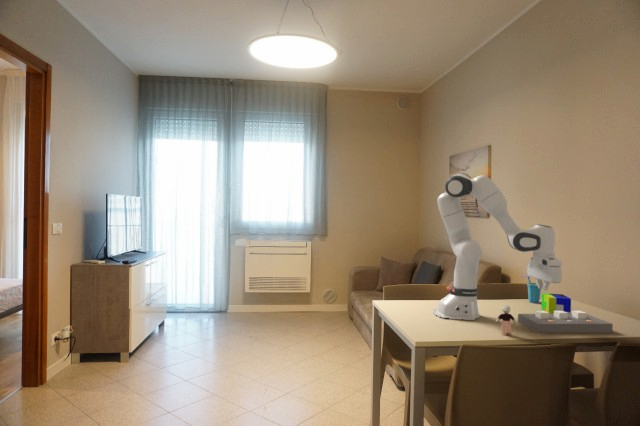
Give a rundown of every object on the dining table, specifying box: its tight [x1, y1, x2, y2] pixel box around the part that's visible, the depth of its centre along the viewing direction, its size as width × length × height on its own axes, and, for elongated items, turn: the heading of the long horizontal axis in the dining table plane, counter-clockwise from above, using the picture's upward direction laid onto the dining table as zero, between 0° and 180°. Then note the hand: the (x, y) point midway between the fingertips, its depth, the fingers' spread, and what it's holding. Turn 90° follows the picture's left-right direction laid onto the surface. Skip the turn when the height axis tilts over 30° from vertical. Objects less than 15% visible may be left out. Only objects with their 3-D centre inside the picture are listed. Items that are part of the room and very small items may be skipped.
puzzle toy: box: [541, 292, 572, 314], centre depth 201 cm, size 10×10×10 cm
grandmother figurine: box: [495, 304, 517, 336], centre depth 169 cm, size 8×4×13 cm, turn 92°
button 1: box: [534, 310, 549, 319], centre depth 182 cm, size 4×4×3 cm
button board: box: [517, 313, 614, 334], centre depth 181 cm, size 34×16×4 cm, turn 93°
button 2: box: [571, 310, 587, 319], centre depth 183 cm, size 4×4×3 cm
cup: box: [522, 274, 544, 304], centre depth 229 cm, size 14×8×15 cm, turn 24°
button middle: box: [554, 311, 568, 319], centre depth 183 cm, size 4×4×3 cm
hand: (542, 289), depth 182 cm, fingers open, 2 cm apart
